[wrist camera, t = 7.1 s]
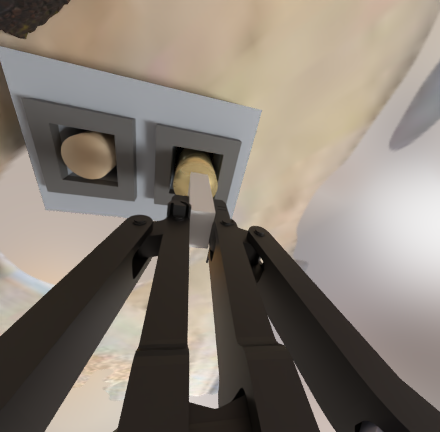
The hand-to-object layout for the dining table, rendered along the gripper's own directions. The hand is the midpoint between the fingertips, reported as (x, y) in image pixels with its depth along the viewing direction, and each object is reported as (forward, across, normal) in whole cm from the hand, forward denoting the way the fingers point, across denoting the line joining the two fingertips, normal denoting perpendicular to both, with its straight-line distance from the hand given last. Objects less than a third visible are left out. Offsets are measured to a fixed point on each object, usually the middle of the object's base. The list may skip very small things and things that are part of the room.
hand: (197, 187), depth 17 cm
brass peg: (+8, 0, 0) cm, 8 cm away
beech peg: (+10, -10, 0) cm, 14 cm away
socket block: (+10, -5, 0) cm, 12 cm away
